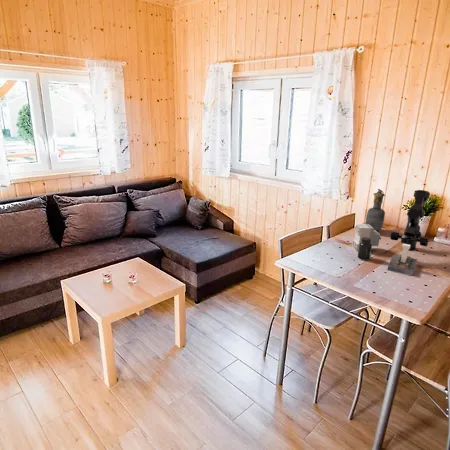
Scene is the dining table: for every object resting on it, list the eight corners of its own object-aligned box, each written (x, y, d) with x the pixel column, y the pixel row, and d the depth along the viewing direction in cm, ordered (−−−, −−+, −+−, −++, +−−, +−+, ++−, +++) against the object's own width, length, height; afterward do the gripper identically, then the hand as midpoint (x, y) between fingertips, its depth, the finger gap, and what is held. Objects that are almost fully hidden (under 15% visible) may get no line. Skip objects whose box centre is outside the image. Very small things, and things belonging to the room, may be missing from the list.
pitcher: (362, 233, 239) (369, 190, 229) (367, 225, 254) (373, 185, 245) (379, 236, 234) (387, 193, 224) (383, 228, 249) (390, 187, 240)
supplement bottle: (369, 256, 201) (372, 237, 197) (370, 261, 195) (373, 241, 191) (357, 255, 203) (360, 235, 199) (357, 259, 197) (360, 239, 193)
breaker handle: (399, 259, 190) (403, 243, 186) (407, 261, 188) (410, 244, 185) (399, 261, 187) (402, 245, 184) (406, 263, 185) (409, 246, 182)
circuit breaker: (380, 251, 208) (384, 228, 203) (356, 251, 208) (359, 227, 204) (375, 247, 215) (379, 224, 210) (352, 246, 215) (355, 223, 211)
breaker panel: (392, 259, 198) (394, 251, 197) (416, 264, 192) (417, 256, 191) (387, 269, 185) (388, 261, 183) (412, 275, 179) (414, 267, 177)
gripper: (394, 217, 194) (387, 241, 189) (432, 223, 184) (426, 249, 179) (393, 227, 203) (387, 250, 197) (430, 233, 193) (424, 258, 188)
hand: (405, 252), depth 190 cm, fingers closed
